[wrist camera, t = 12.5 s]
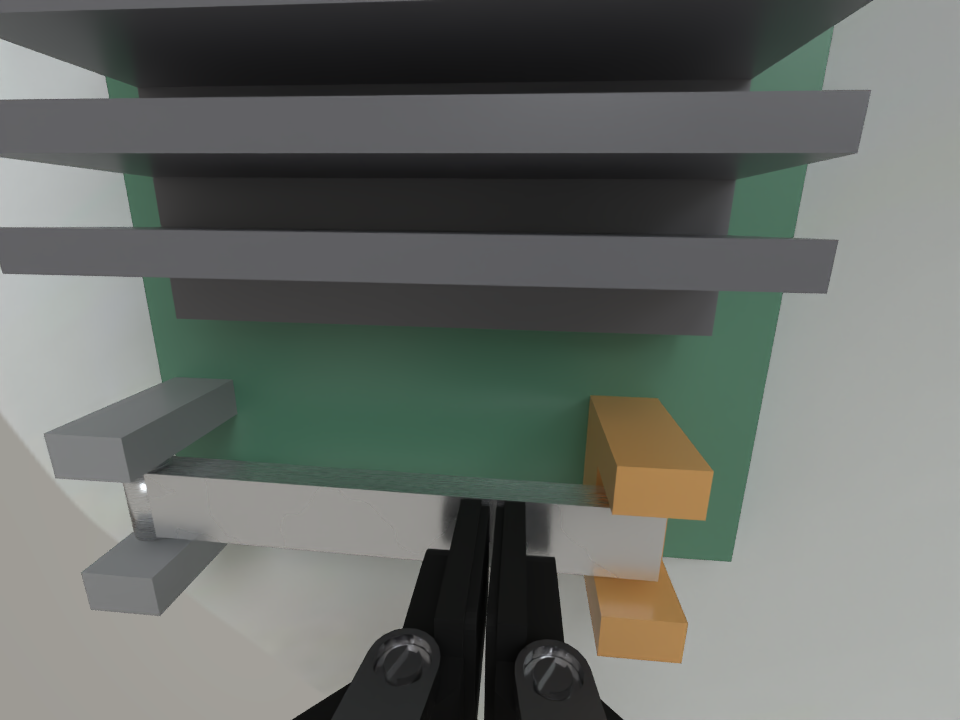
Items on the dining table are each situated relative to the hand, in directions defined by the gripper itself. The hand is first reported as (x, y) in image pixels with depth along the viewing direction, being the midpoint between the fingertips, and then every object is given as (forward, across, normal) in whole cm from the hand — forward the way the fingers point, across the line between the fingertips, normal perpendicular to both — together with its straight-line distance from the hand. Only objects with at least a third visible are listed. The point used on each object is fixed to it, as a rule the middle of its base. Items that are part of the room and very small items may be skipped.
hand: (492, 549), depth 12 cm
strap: (+1, +3, -1) cm, 3 cm away
